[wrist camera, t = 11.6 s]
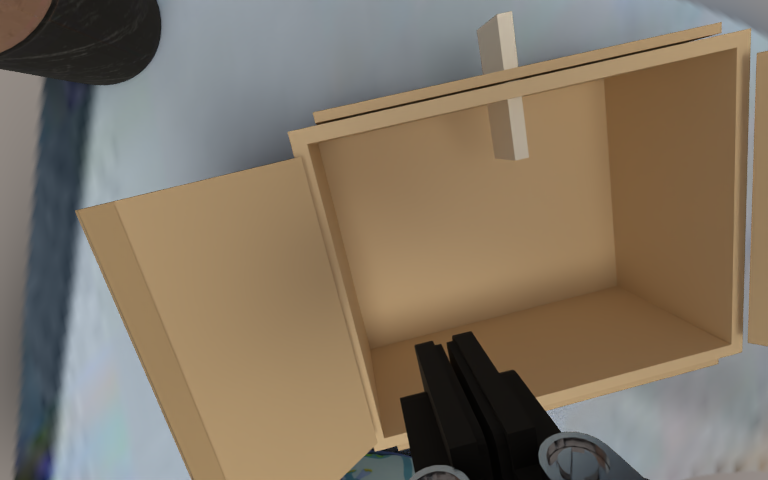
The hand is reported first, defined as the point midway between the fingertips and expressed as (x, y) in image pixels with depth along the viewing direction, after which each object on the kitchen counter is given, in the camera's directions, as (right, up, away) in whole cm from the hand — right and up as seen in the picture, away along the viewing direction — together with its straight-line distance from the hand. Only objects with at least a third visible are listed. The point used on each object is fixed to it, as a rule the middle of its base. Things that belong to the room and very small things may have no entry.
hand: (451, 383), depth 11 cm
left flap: (-6, 0, +3) cm, 7 cm away
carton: (+4, +6, +15) cm, 17 cm away
